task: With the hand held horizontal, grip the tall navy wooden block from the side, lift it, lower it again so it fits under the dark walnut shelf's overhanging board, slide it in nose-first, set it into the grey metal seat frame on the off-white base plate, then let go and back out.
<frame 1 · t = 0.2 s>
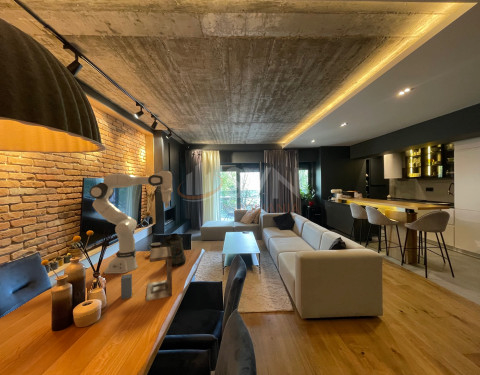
hand: (167, 206, 166), 48 cm above the table, tool pointing down, fingers open, 8 cm apart
navy block: (126, 296, 120), on the table
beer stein: (174, 264, 169), on the table
overhang shelf: (159, 290, 127), on the table
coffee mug: (155, 254, 193), on the table
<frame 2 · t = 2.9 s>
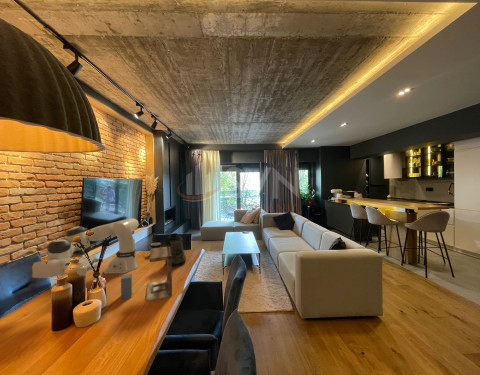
hand: (101, 263, 115), 22 cm above the table, tool horizontal, fingers open, 8 cm apart
nothing on the table moved.
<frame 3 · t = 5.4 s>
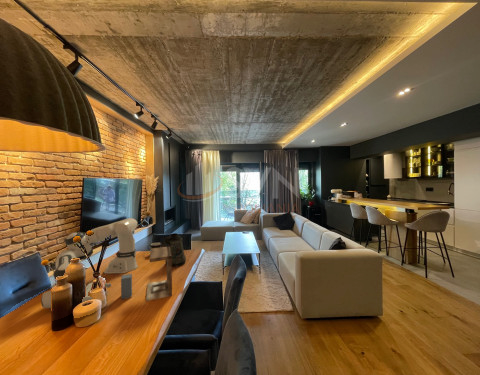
hand: (109, 288, 116), 6 cm above the table, tool horizontal, fingers open, 8 cm apart
nothing on the table moved.
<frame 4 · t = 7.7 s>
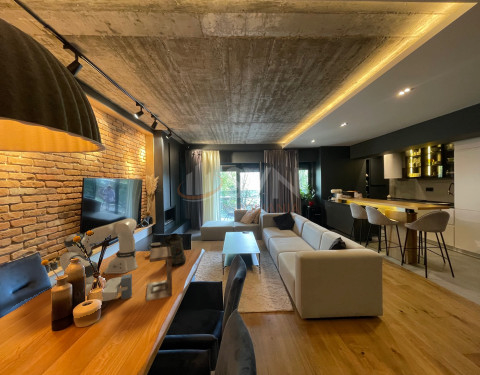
hand: (128, 285, 120), 7 cm above the table, tool horizontal, fingers closed on navy block, 5 cm apart
navy block: (126, 296, 120), on the table, touching gripper
everything else where it was.
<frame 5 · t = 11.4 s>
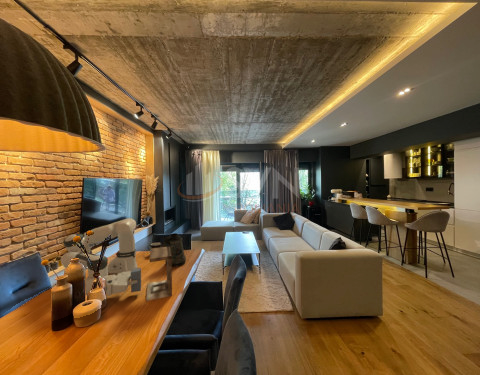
hand: (137, 278, 122), 9 cm above the table, tool horizontal, fingers closed on navy block, 5 cm apart
navy block: (136, 289, 122), point 3 cm above the table, touching gripper
everything else where it was.
when the fingers open (8 cm above the table, at t = 15.2 s): navy block stays where it is, resting on overhang shelf.
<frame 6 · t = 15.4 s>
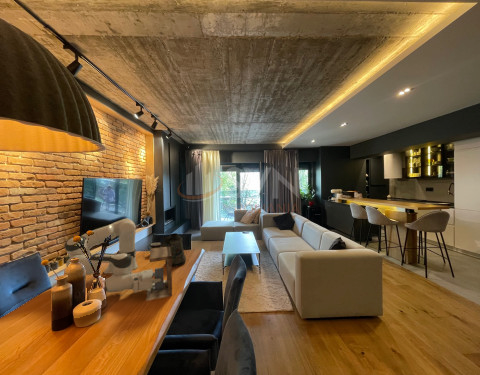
hand: (160, 276, 127), 8 cm above the table, tool horizontal, fingers open, 7 cm apart
navy block: (159, 288, 127), point 1 cm above the table, touching overhang shelf
everything else where it was.
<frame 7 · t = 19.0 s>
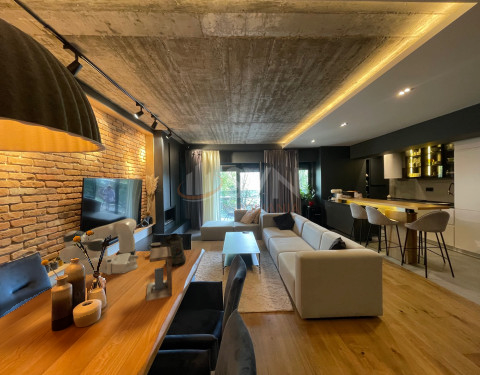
hand: (137, 259, 121), 21 cm above the table, tool horizontal, fingers open, 8 cm apart
nothing on the table moved.
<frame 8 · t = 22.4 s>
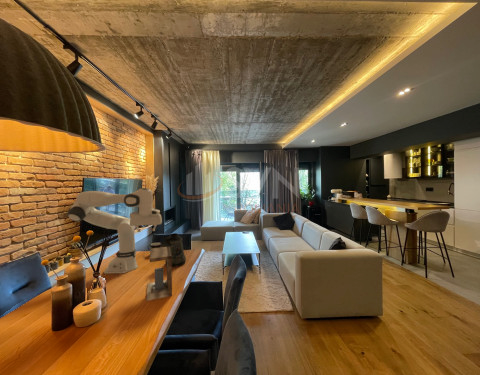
hand: (146, 231, 139), 34 cm above the table, tool pointing down, fingers open, 8 cm apart
nothing on the table moved.
at the end: navy block 0.0 cm off-centre on the overhang shelf, point 1.0 cm above the overhang shelf's base; navy block tilted 0°; the gripper is holding nothing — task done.
